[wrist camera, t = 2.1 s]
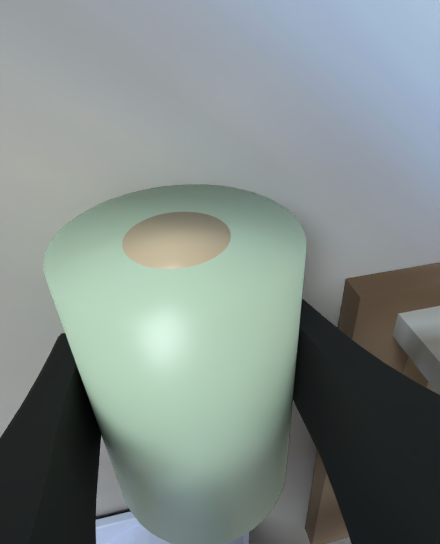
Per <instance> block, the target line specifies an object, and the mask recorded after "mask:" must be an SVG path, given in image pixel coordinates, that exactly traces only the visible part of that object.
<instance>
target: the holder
mask: <svg viewBox="0 0 440 544" xmlns="http://www.w3.org/2000/svg"><path fill="white" fill-rule="evenodd" d="M338 329H339V330H340V331H342V332H343V333H344V334H346V335H347V336H348V337H349V338H351V339H352V340H353V341H355V342H356V343H357V344H359V345H360V346H361V347H363V348H364V349H365V350H367V351H368V352H370V353H371V354H373V355H374V356H375V357H377V358H378V359H380V360H381V361H383V362H384V363H386V364H387V365H389V366H390V367H392V368H393V369H395V370H397V371H398V372H400V373H402V374H403V375H405V376H407V377H408V378H410V379H412V380H413V381H415V382H417V383H419V384H420V385H422V386H424V387H426V388H428V389H429V390H431V391H433V392H435V393H437V394H439V395H440V263H436V264H430V265H424V266H418V267H412V268H407V269H401V270H395V271H389V272H383V273H377V274H372V275H366V276H360V277H354V278H348V279H346V282H345V288H344V294H343V300H342V306H341V312H340V318H339V324H338ZM305 529H306V532H307V535H308V538H309V541H310V544H325V543H328V542H332V541H336V540H339V539H343V538H347V537H349V534H348V531H347V528H346V525H345V522H344V520H343V517H342V514H341V511H340V508H339V505H338V503H337V500H336V497H335V494H334V491H333V489H332V486H331V483H330V481H329V478H328V475H327V472H326V470H325V467H324V464H323V462H322V459H321V457H320V455H319V452H317V458H316V464H315V471H314V477H313V483H312V489H311V495H310V501H309V507H308V513H307V519H306V525H305Z"/></svg>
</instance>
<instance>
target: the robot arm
mask: <svg viewBox="0 0 440 544" xmlns="http://www.w3.org/2000/svg"><path fill="white" fill-rule="evenodd" d="M293 400H294V402H295V404H296V406H297V409H298V411H299V413H300V415H301V417H302V419H303V421H304V423H305V425H306V427H307V429H308V431H309V433H310V435H311V437H312V439H313V442H314V444H315V446H316V448H317V450H318V452H319V455H320V457H321V459H322V462H323V464H324V467H325V470H326V472H327V475H328V478H329V481H330V483H331V486H332V489H333V491H334V494H335V497H336V500H337V503H338V505H339V508H340V511H341V514H342V517H343V520H344V522H345V525H346V528H347V531H348V534H349V537H350V540H351V543H352V544H440V395H439V394H437V393H435V392H433V391H431V390H429V389H428V388H426V387H424V386H422V385H420V384H419V383H417V382H415V381H413V380H412V379H410V378H408V377H407V376H405V375H403V374H402V373H400V372H398V371H397V370H395V369H393V368H392V367H390V366H389V365H387V364H386V363H384V362H383V361H381V360H380V359H378V358H377V357H375V356H374V355H373V354H371V353H370V352H368V351H367V350H365V349H364V348H363V347H361V346H360V345H359V344H357V343H356V342H355V341H353V340H352V339H351V338H349V337H348V336H347V335H346V334H344V333H343V332H342V331H340V330H339V329H338V328H337V327H335V326H334V325H333V324H332V323H331V322H329V321H328V320H327V319H326V318H325V317H323V316H322V315H321V314H320V313H319V312H317V311H316V310H315V309H314V308H313V307H312V306H310V305H309V304H308V303H307V302H306V301H304V300H303V299H302V303H301V314H300V325H299V336H298V347H297V358H296V369H295V380H294V391H293ZM100 442H101V432H100V429H99V426H98V423H97V421H96V418H95V415H94V412H93V409H92V407H91V404H90V401H89V398H88V395H87V393H86V390H85V387H84V384H83V381H82V379H81V376H80V373H79V370H78V367H77V365H76V362H75V359H74V356H73V353H72V351H71V348H70V345H69V342H68V339H67V337H66V334H65V333H63V334H61V335H60V336H59V337H58V338H57V341H56V343H55V345H54V347H53V349H52V351H51V353H50V355H49V357H48V359H47V361H46V363H45V364H44V366H43V368H42V370H41V372H40V374H39V376H38V377H37V379H36V381H35V383H34V384H33V386H32V388H31V390H30V391H29V393H28V395H27V397H26V398H25V400H24V402H23V403H22V405H21V407H20V408H19V410H18V411H17V413H16V414H15V416H14V418H13V419H12V421H11V422H10V424H9V425H8V427H7V428H6V430H5V431H4V433H3V435H2V436H1V437H0V544H172V543H169V542H167V541H165V540H162V539H160V538H158V537H157V536H155V535H154V534H152V533H150V532H149V531H148V530H147V529H146V528H144V527H143V526H142V525H141V524H140V523H139V522H138V520H137V519H136V518H135V517H134V516H133V514H132V512H131V511H130V512H126V513H121V514H117V515H113V516H109V517H105V518H101V519H96V494H97V481H98V468H99V455H100ZM225 544H249V532H248V533H247V534H245V535H243V536H241V537H239V538H238V539H236V540H234V541H231V542H228V543H225Z"/></svg>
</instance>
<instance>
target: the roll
mask: <svg viewBox="0 0 440 544" xmlns="http://www.w3.org/2000/svg"><path fill="white" fill-rule="evenodd" d="M306 248H307V243H306V235H305V232H304V230H303V227H302V226H301V224H300V222H299V221H298V219H297V218H296V217H295V216H294V215H293V214H292V213H291V212H290V211H289V210H287V209H286V208H285V207H283V206H282V205H280V204H278V203H277V202H275V201H273V200H271V199H269V198H267V197H265V196H262V195H259V194H256V193H253V192H250V191H246V190H242V189H237V188H232V187H225V186H217V185H173V186H164V187H157V188H151V189H146V190H141V191H137V192H133V193H129V194H126V195H122V196H120V197H117V198H114V199H111V200H108V201H106V202H104V203H101V204H99V205H97V206H95V207H93V208H91V209H89V210H87V211H85V212H84V213H82V214H80V215H79V216H77V217H76V218H75V219H73V220H72V221H70V222H69V223H68V224H67V225H66V226H65V227H63V228H62V229H61V230H60V231H59V232H58V234H57V235H56V236H55V237H54V238H53V240H52V242H51V243H50V245H49V247H48V249H47V251H46V254H45V257H44V273H45V278H46V281H47V283H48V286H49V289H50V292H51V295H52V297H53V300H54V303H55V306H56V309H57V311H58V314H59V317H60V320H61V323H62V325H63V328H64V331H65V334H66V337H67V339H68V342H69V345H70V348H71V351H72V353H73V356H74V359H75V362H76V365H77V367H78V370H79V373H80V376H81V379H82V381H83V384H84V387H85V390H86V393H87V395H88V398H89V401H90V404H91V407H92V409H93V412H94V415H95V418H96V421H97V423H98V426H99V429H100V432H101V435H102V437H103V440H104V443H105V446H106V449H107V451H108V454H109V457H110V460H111V463H112V465H113V468H114V471H115V474H116V476H117V479H118V482H119V485H120V488H121V490H122V493H123V496H124V498H125V501H126V503H127V506H128V507H129V509H130V511H131V512H132V514H133V516H134V517H135V518H136V519H137V520H138V522H139V523H140V524H141V525H142V526H143V527H144V528H146V529H147V530H148V531H149V532H150V533H152V534H154V535H155V536H157V537H158V538H160V539H162V540H165V541H167V542H169V543H172V544H225V543H228V542H231V541H234V540H236V539H238V538H239V537H241V536H243V535H245V534H247V533H248V532H249V531H251V530H252V529H254V528H255V527H256V526H257V525H258V524H259V523H261V522H262V521H263V520H264V519H265V517H266V516H267V515H268V514H269V513H270V511H271V510H272V508H273V507H274V505H275V504H276V502H277V500H278V498H279V496H280V493H281V491H282V488H283V485H284V481H285V476H286V468H287V457H288V446H289V435H290V424H291V413H292V402H293V391H294V380H295V369H296V358H297V347H298V336H299V325H300V314H301V303H302V292H303V281H304V270H305V259H306Z"/></svg>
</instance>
